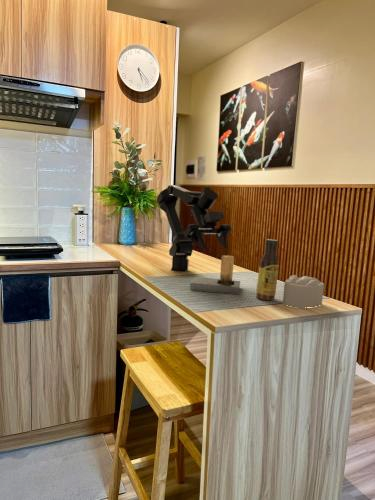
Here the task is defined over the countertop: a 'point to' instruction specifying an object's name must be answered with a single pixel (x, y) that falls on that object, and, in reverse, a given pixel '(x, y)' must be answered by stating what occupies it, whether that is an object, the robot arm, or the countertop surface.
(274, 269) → the sauce bottle
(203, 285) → the plate
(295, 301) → the lumpy-topped squat cylinder
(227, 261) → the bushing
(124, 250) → the countertop surface
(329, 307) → the countertop surface
